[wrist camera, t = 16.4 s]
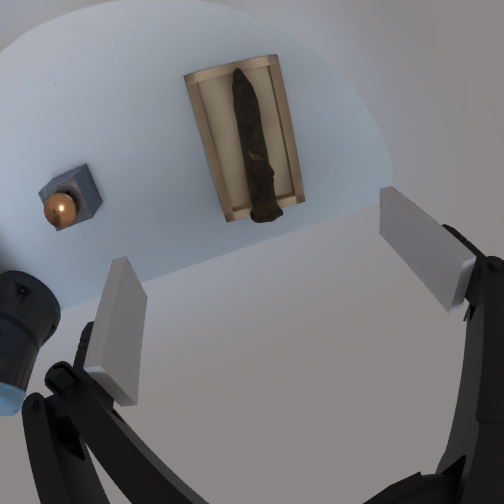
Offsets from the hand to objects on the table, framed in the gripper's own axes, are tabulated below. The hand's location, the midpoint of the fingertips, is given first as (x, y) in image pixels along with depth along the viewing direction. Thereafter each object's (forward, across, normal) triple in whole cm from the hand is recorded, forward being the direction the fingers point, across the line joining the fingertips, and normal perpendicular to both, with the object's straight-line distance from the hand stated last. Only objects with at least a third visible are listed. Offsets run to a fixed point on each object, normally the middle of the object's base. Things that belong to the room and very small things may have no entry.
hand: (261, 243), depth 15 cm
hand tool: (+25, +3, -2) cm, 25 cm away
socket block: (+28, -21, -1) cm, 35 cm away
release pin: (+27, -21, -1) cm, 35 cm away
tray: (+27, +3, -2) cm, 28 cm away
